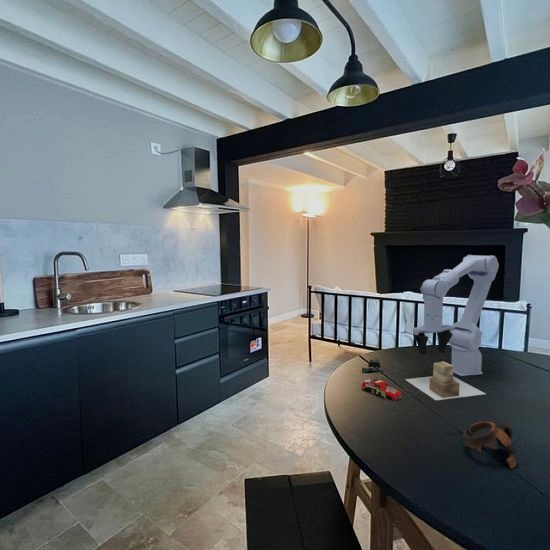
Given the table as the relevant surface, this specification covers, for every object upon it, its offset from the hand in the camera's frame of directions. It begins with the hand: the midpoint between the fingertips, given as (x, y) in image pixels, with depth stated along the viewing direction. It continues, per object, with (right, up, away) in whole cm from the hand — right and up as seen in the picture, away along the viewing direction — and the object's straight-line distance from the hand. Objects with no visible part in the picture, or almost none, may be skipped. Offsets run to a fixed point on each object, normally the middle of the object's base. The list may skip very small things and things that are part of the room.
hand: (432, 352), depth 116 cm
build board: (+1, -10, -5) cm, 12 cm away
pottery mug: (-5, -14, -40) cm, 42 cm away
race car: (-20, -12, -9) cm, 25 cm away
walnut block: (-1, -10, -10) cm, 14 cm away
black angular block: (-17, -10, +10) cm, 22 cm away
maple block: (-1, -6, -10) cm, 11 cm away
